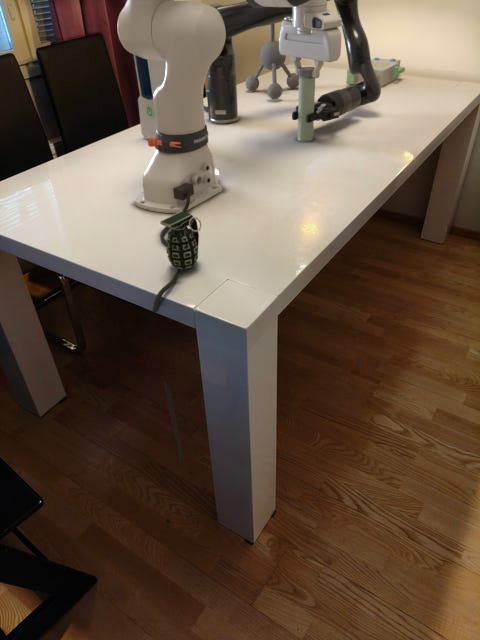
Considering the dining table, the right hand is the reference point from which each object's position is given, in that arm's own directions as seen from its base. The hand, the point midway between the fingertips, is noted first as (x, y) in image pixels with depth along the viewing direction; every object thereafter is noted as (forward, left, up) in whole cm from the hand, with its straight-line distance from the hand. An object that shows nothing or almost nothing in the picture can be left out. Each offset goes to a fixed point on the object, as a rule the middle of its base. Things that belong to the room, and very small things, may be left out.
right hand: (300, 117), depth 140 cm
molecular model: (-44, +41, -7) cm, 60 cm away
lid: (0, +3, +12) cm, 12 cm away
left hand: (0, +3, +10) cm, 11 cm away
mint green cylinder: (0, +3, -7) cm, 7 cm away
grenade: (+27, -69, -7) cm, 74 cm away
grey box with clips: (-23, +76, -7) cm, 80 cm away
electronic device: (-37, -22, -7) cm, 43 cm away
